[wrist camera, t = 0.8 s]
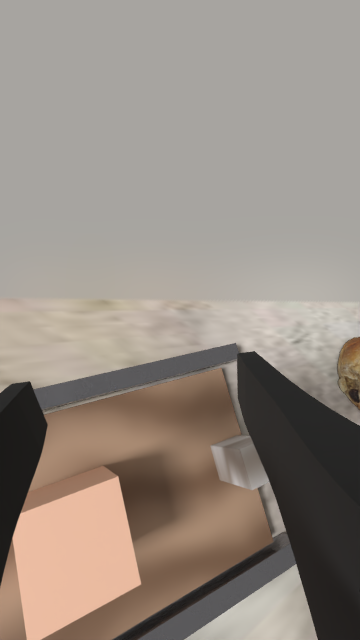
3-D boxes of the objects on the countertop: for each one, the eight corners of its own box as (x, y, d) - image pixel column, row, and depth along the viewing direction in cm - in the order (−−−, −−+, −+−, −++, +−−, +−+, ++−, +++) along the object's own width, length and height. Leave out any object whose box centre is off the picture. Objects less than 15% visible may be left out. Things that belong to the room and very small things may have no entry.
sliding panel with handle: (266, 538, 29) (315, 563, 24) (-45, 722, 19) (-82, 839, 13) (216, 369, 32) (249, 358, 27) (-71, 445, 22) (-109, 451, 17)
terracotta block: (120, 548, 23) (141, 584, 18) (32, 591, 21) (27, 646, 16) (103, 465, 25) (118, 476, 19) (18, 495, 22) (9, 517, 17)
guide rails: (288, 550, 29) (303, 558, 28) (-40, 761, 18) (-50, 796, 17) (225, 347, 34) (235, 343, 32) (-73, 416, 22) (-83, 416, 21)
